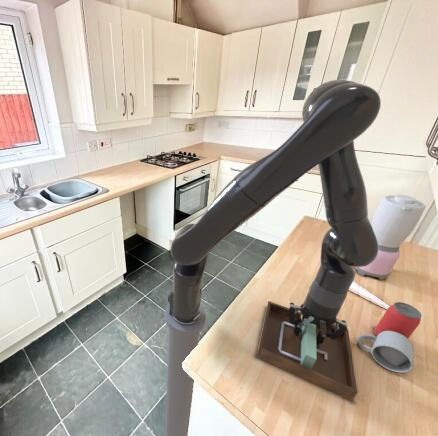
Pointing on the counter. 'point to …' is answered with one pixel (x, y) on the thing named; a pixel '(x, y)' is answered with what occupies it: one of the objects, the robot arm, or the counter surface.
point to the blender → (392, 231)
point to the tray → (322, 369)
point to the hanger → (304, 345)
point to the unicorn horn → (367, 295)
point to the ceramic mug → (390, 350)
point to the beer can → (399, 319)
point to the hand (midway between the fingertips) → (306, 337)
